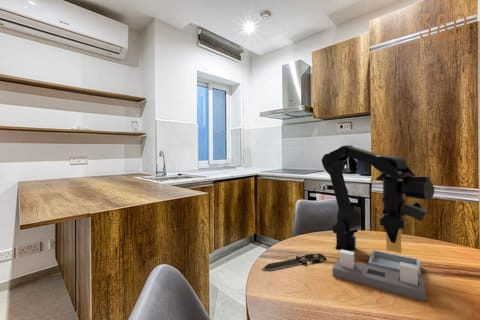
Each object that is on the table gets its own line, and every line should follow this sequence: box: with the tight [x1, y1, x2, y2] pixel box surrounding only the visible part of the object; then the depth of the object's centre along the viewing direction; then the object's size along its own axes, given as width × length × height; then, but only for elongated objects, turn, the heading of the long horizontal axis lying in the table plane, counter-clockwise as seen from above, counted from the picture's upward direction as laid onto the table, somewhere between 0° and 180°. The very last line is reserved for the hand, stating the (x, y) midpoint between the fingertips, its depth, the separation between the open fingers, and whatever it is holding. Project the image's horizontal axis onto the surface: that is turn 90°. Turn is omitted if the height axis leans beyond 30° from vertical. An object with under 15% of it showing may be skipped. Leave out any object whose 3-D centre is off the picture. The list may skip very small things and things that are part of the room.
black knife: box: [260, 253, 327, 271], centre depth 82 cm, size 25×6×1 cm, turn 103°
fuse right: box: [400, 262, 418, 286], centre depth 64 cm, size 4×2×7 cm, turn 53°
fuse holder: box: [332, 257, 427, 303], centre depth 69 cm, size 23×8×2 cm, turn 53°
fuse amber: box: [385, 228, 402, 254], centre depth 76 cm, size 4×2×7 cm, turn 53°
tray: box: [367, 249, 422, 278], centre depth 77 cm, size 14×12×2 cm
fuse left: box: [339, 249, 356, 270], centre depth 74 cm, size 4×2×7 cm, turn 53°
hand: (393, 241), depth 76 cm, fingers closed on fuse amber, 2 cm apart
